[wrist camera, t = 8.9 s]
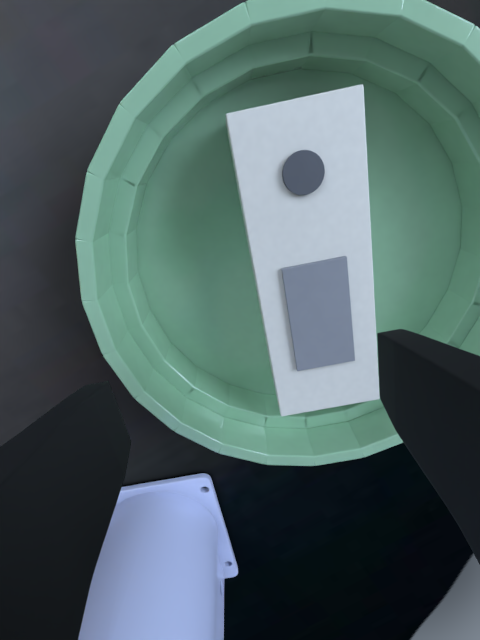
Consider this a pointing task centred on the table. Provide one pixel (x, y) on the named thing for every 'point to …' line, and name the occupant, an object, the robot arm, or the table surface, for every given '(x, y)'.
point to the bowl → (228, 226)
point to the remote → (310, 244)
